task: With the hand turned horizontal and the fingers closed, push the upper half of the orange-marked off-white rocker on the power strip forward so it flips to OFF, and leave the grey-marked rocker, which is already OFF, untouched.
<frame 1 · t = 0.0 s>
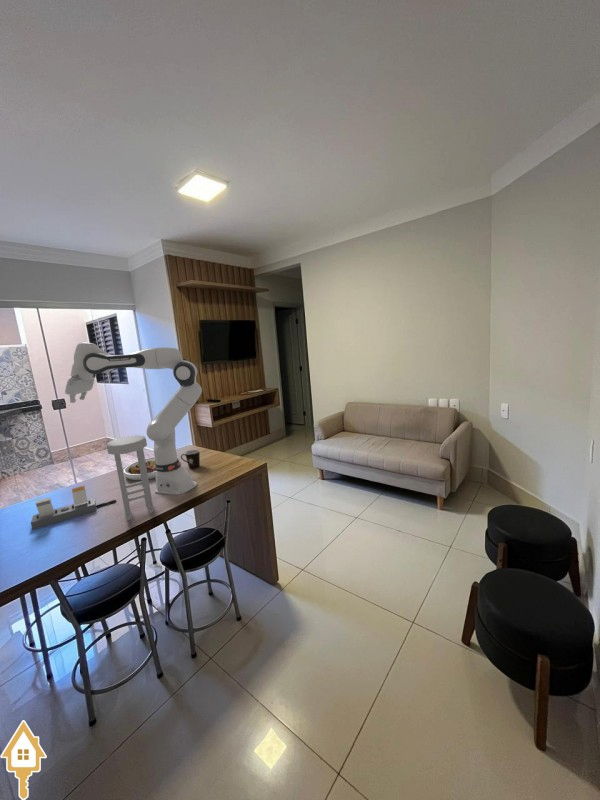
hand: (77, 400, 157), 52 cm above the counter, tool tilted 20°, fingers open, 8 cm apart
power strip: (66, 516, 148), on the counter
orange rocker: (79, 495, 151), point 8 cm above the counter, hinge at 20.0°
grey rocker: (44, 507, 142), point 8 cm above the counter, hinge at -20.0°
bowl: (152, 472, 197), on the counter
coffee mug: (192, 466, 200), on the counter
stool: (139, 511, 148), on the counter
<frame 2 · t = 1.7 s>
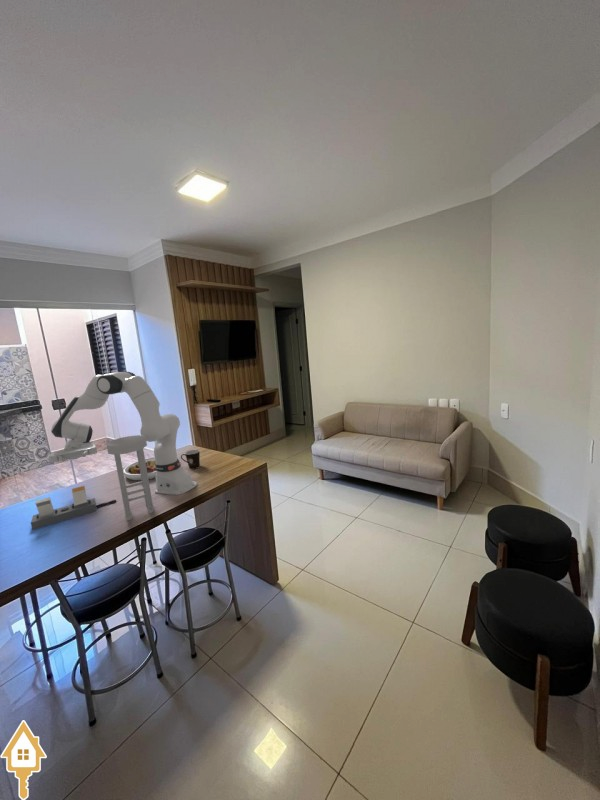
hand: (73, 457, 157), 24 cm above the counter, tool horizontal, fingers open, 7 cm apart
nothing on the counter moved.
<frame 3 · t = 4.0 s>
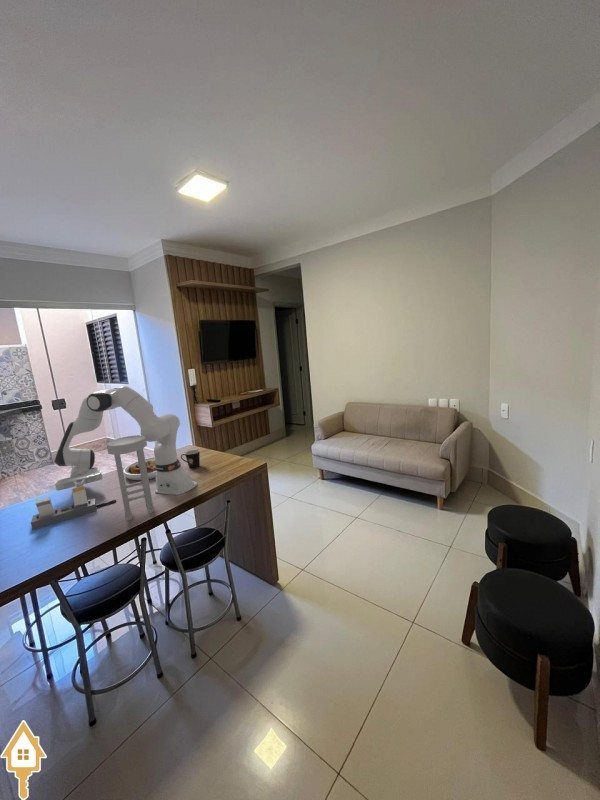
hand: (79, 485, 160), 10 cm above the counter, tool horizontal, fingers closed
nothing on the counter moved.
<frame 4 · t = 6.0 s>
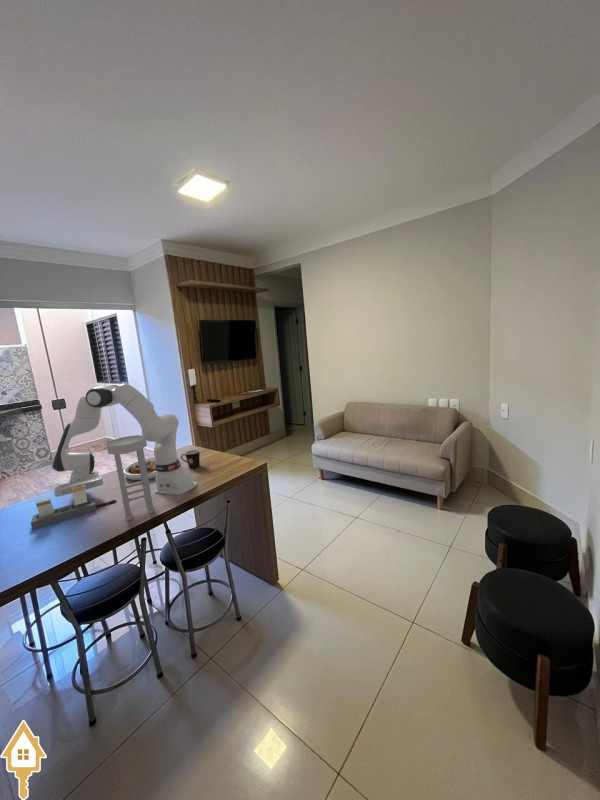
hand: (79, 491, 152), 9 cm above the counter, tool horizontal, fingers closed, pressing on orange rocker
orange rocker: (79, 495, 151), point 8 cm above the counter, hinge at 20.0°, touching gripper
everything else where it was.
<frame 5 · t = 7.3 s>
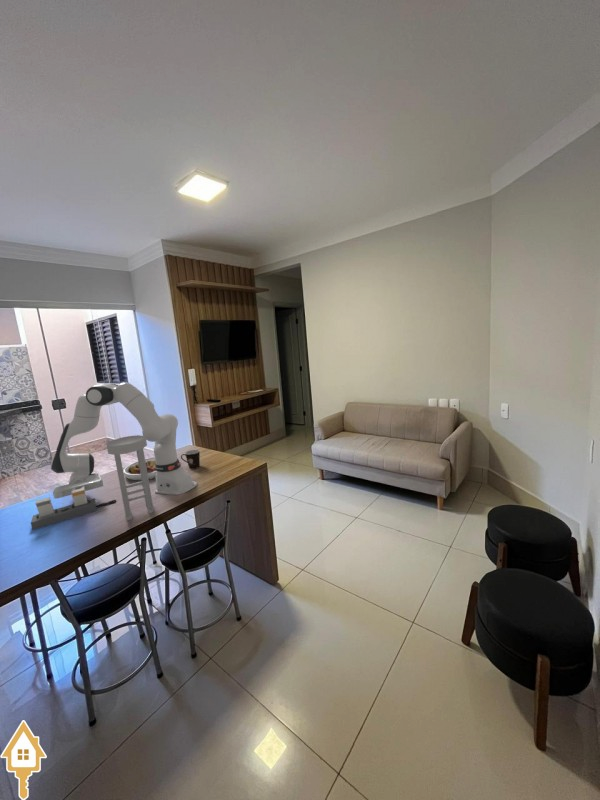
hand: (78, 492, 149), 10 cm above the counter, tool horizontal, fingers closed, pressing on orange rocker
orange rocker: (79, 497, 149), point 8 cm above the counter, hinge at -16.1°, touching gripper
everything else where it was.
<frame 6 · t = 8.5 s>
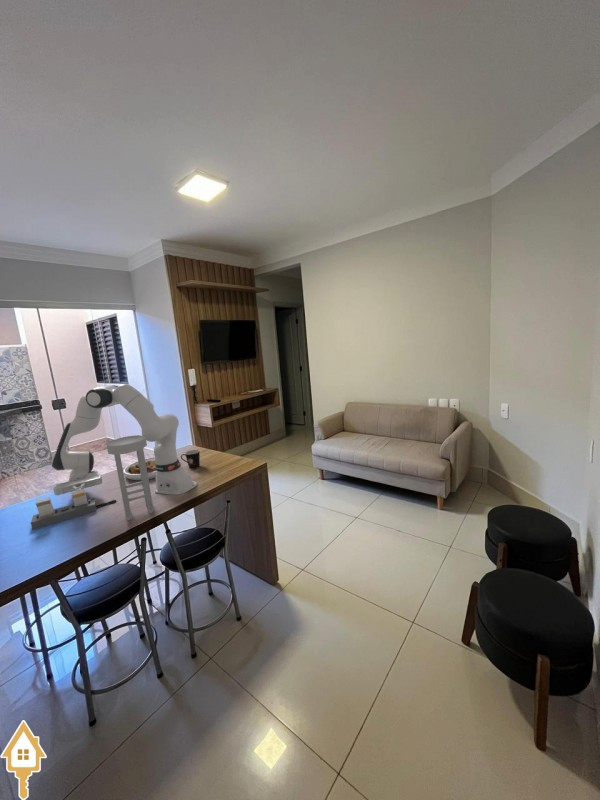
hand: (78, 489, 154), 10 cm above the counter, tool horizontal, fingers closed
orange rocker: (79, 498, 149), point 8 cm above the counter, hinge at -25.6°
everything else where it was.
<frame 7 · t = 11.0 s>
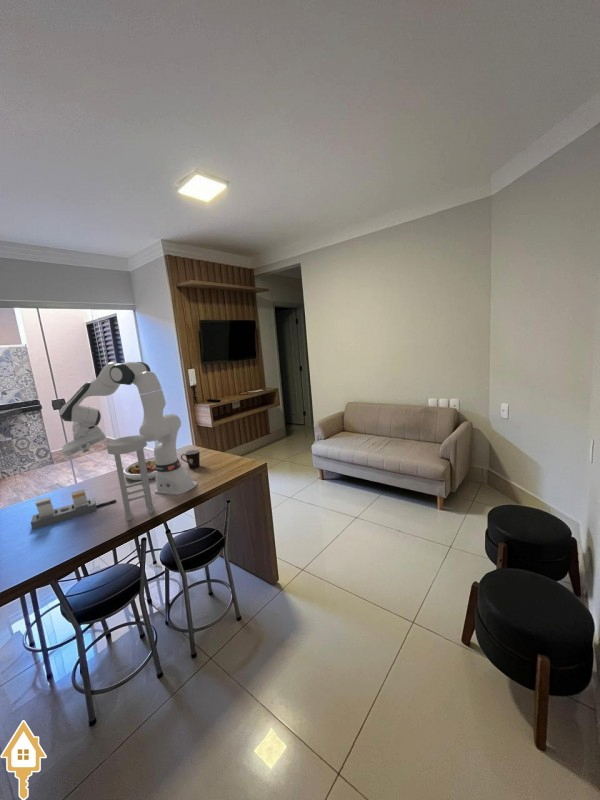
hand: (85, 450, 162), 26 cm above the counter, tool tilted 70°, fingers closed
nothing on the counter moved.
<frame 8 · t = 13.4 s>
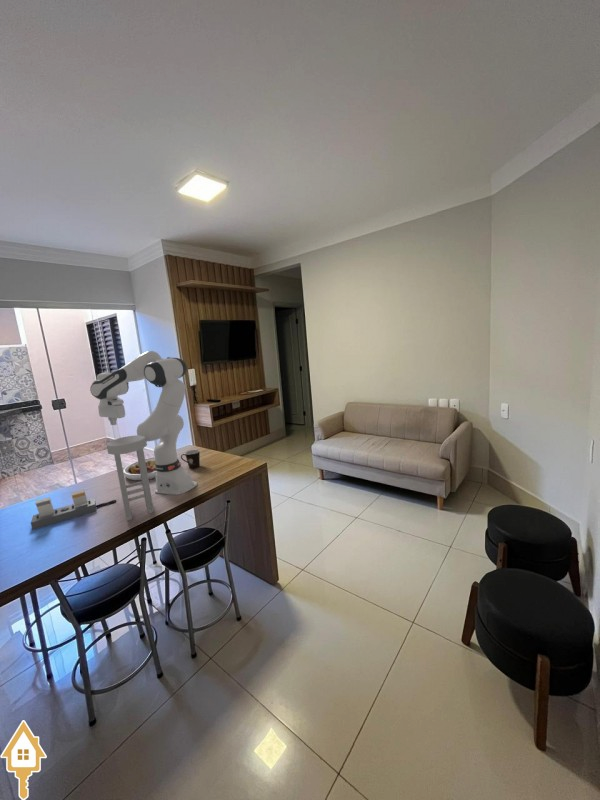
hand: (113, 424, 180), 34 cm above the counter, tool pointing down, fingers closed
nothing on the counter moved.
at the end: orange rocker at -26° (first picture: +20°); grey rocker at -20° (first picture: -20°) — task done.
